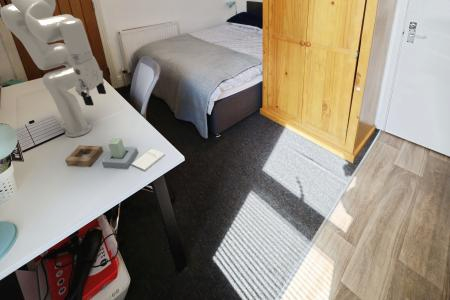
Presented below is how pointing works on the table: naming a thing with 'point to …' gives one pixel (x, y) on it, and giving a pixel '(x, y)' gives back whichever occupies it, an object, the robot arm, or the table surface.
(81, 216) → the table surface
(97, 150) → the socket
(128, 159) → the socket
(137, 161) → the external hard drive
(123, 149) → the plug
